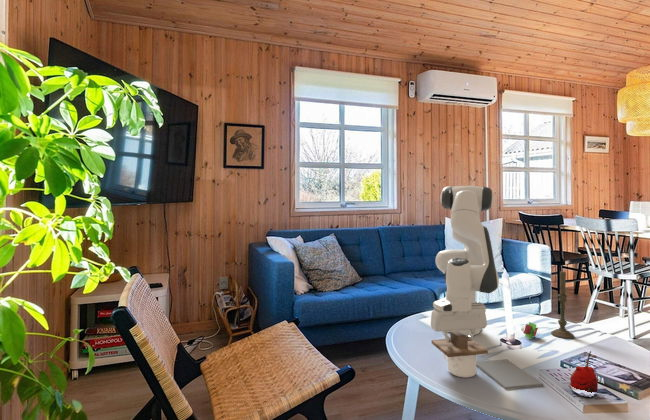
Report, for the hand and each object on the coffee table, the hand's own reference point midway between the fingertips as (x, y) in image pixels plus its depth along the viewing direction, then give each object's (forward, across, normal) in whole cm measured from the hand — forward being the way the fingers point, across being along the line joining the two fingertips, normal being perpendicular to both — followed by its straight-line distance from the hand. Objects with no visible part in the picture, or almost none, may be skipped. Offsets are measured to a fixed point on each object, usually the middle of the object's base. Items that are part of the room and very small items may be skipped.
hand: (458, 341), depth 139 cm
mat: (+12, -16, +4) cm, 20 cm away
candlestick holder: (+12, -65, -27) cm, 71 cm away
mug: (+12, 0, 0) cm, 12 cm away
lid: (+2, 0, 0) cm, 3 cm away
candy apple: (+12, -32, +21) cm, 40 cm away
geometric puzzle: (+12, -49, -27) cm, 57 cm away
